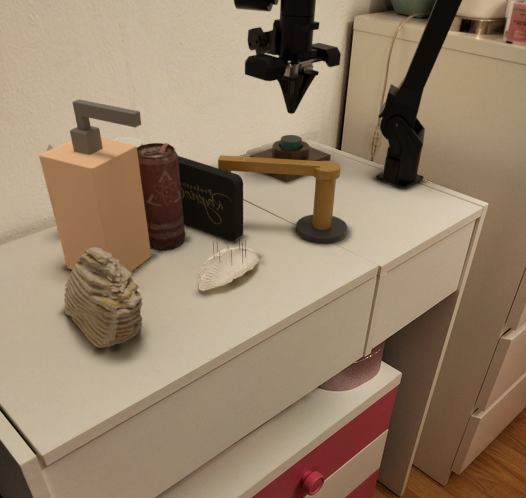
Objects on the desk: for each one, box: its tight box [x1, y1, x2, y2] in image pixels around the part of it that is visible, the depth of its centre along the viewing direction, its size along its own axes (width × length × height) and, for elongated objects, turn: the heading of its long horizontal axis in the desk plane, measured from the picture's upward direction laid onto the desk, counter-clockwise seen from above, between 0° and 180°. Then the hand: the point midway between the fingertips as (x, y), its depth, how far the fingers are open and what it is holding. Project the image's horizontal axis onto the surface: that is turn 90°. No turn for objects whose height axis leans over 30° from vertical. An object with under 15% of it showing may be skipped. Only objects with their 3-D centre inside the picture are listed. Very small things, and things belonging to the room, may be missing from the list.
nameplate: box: [178, 155, 244, 242], centre depth 86 cm, size 21×2×10 cm, turn 55°
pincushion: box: [198, 234, 260, 292], centre depth 75 cm, size 12×6×6 cm, turn 144°
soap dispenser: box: [38, 99, 152, 273], centre depth 71 cm, size 13×9×22 cm
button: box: [280, 134, 303, 150], centre depth 104 cm, size 4×4×2 cm
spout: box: [217, 154, 342, 180], centre depth 82 cm, size 18×4×3 cm, turn 83°
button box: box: [249, 139, 331, 183], centre depth 106 cm, size 12×10×4 cm
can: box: [137, 142, 186, 250], centre depth 80 cm, size 6×6×14 cm
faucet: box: [295, 178, 348, 245], centre depth 84 cm, size 8×8×9 cm
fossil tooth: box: [63, 247, 143, 349], centre depth 64 cm, size 12×6×15 cm
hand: (291, 113), depth 100 cm, fingers closed
